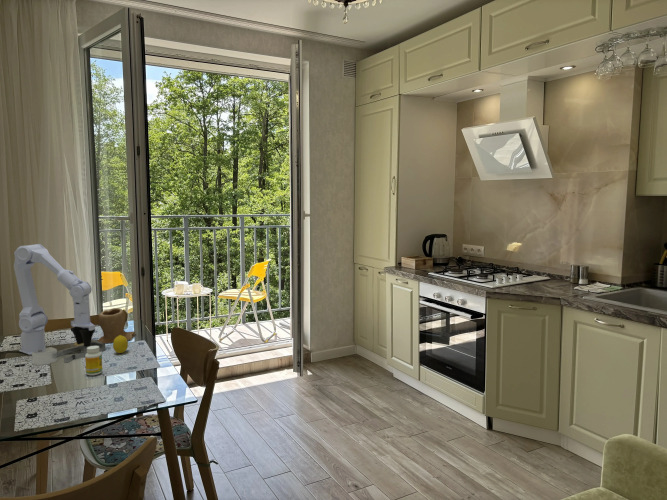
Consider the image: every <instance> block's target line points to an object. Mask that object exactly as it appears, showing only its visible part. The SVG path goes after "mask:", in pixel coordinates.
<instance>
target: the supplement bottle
mask: <svg viewBox="0 0 667 500" xmlns="http://www.w3.org/2000/svg"><path fill="white" fill-rule="evenodd" d="M86 351H87V352H88V353H87V354H86V355H85V357H84V358H85V359H84V360H85V361H84V362H85V373H86V375H87V376H97V375H99V374H102V373H103V354H102V352H99V346H90V347H88V348H86Z"/></svg>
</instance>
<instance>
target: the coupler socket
mask: <svg viewBox="0 0 667 500" xmlns="http://www.w3.org/2000/svg"><path fill="white" fill-rule="evenodd" d="M90 346H99V352H101V351H102V352H105V351H107V350H106V349H107V348H106V344H105V343H102V342H99V341H98V340H95V339H91V343H90ZM90 346H86V347H85V346H84V344H83V345H79V346H75V345H74V346H72V347H67V348H64V349H60V350H57V357H61V356H64V355H67V354H69V355H67V356H65V357H63V360H64V361H63V362H64V364H68V363H70V362H72V361H73V360H79V359H82V358H85V357H84V356H85V355H86V354H87V353H88V352H87V350H84V349H87V348H88V347H90ZM81 350H83V351H81ZM77 351H80V352H77ZM74 352H77V353H74ZM102 352H101V353H102Z"/></svg>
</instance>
